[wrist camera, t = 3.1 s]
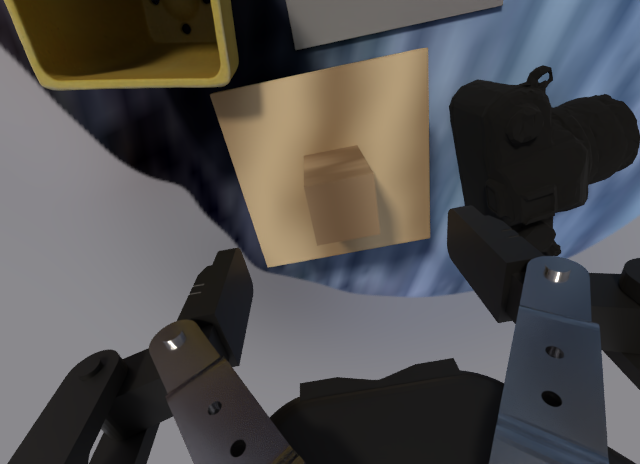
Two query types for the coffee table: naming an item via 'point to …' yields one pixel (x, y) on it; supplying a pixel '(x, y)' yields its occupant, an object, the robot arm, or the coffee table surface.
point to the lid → (333, 156)
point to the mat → (367, 16)
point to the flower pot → (127, 43)
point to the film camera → (536, 151)
